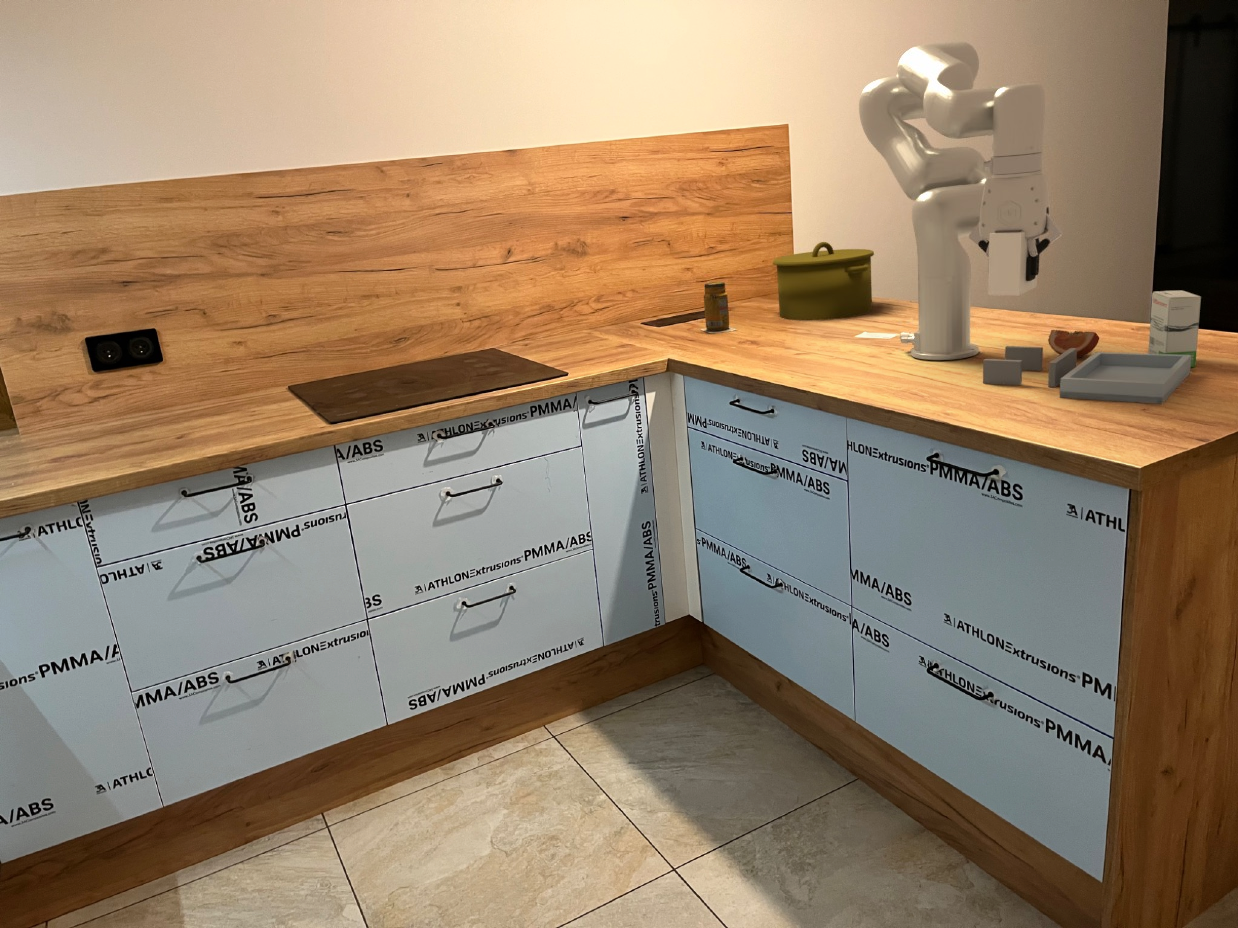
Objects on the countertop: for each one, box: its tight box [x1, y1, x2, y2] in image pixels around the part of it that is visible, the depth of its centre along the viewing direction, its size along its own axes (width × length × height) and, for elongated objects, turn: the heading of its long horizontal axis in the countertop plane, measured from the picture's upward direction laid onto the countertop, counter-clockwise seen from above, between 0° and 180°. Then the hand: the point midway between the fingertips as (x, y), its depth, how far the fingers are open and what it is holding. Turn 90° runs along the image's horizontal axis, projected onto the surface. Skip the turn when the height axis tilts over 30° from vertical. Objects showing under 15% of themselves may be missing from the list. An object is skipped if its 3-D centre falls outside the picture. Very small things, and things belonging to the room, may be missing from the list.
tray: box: [1059, 351, 1192, 405], centre depth 145 cm, size 14×20×3 cm
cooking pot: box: [772, 241, 875, 321], centre depth 242 cm, size 30×26×18 cm
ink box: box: [1147, 290, 1202, 368], centre depth 154 cm, size 9×5×12 cm, turn 168°
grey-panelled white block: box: [987, 230, 1038, 297], centre depth 153 cm, size 5×9×10 cm, turn 140°
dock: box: [982, 345, 1078, 388], centre depth 156 cm, size 12×12×4 cm
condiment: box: [700, 281, 738, 334], centre depth 234 cm, size 7×8×12 cm
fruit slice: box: [1047, 329, 1100, 359], centre depth 167 cm, size 8×7×5 cm
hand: (1013, 278), depth 154 cm, fingers closed on grey-panelled white block, 5 cm apart
